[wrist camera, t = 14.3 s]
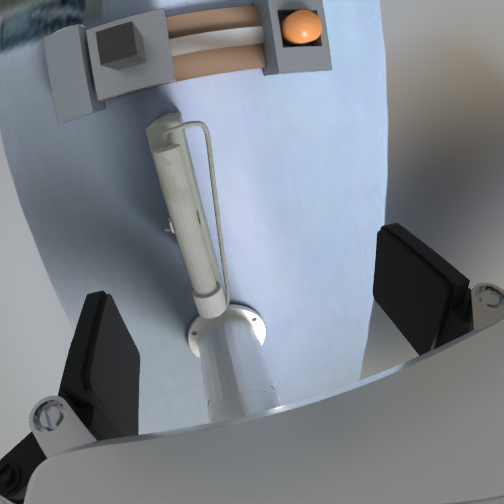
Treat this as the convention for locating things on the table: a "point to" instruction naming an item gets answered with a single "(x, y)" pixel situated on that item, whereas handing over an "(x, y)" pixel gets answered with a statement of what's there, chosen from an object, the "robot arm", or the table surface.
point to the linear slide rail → (81, 75)
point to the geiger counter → (189, 210)
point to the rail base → (215, 42)
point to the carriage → (130, 54)
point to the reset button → (300, 27)
